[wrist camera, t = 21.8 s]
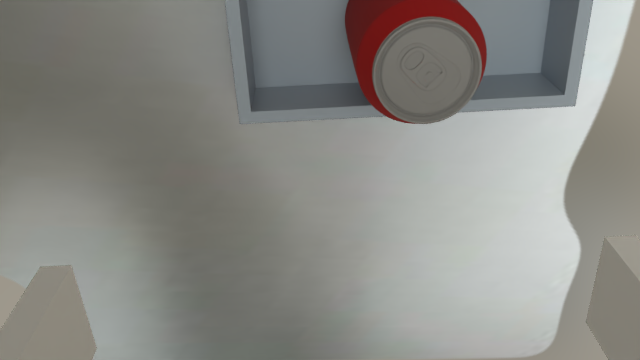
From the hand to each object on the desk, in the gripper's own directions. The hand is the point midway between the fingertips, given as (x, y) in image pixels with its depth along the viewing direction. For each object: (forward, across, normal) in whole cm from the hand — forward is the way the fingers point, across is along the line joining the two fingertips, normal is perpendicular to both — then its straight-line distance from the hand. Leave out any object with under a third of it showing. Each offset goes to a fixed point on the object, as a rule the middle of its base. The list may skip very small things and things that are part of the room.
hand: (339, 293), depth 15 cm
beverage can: (+28, +5, 0) cm, 29 cm away
